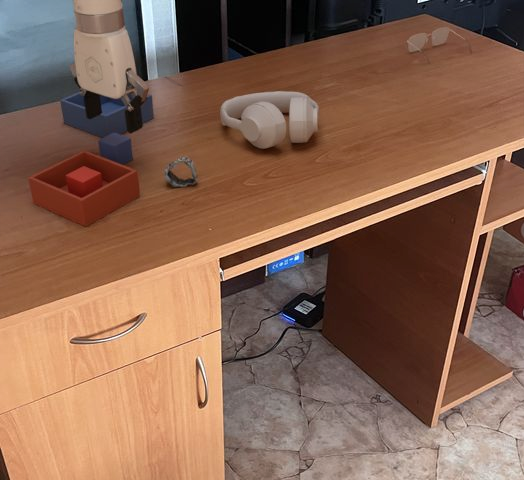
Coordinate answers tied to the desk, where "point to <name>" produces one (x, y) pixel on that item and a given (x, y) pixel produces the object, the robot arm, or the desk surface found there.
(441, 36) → the eyeglasses
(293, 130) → the headphones
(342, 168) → the desk surface
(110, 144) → the blue block
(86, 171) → the red block
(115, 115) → the blue bin
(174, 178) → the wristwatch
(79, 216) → the red bin
